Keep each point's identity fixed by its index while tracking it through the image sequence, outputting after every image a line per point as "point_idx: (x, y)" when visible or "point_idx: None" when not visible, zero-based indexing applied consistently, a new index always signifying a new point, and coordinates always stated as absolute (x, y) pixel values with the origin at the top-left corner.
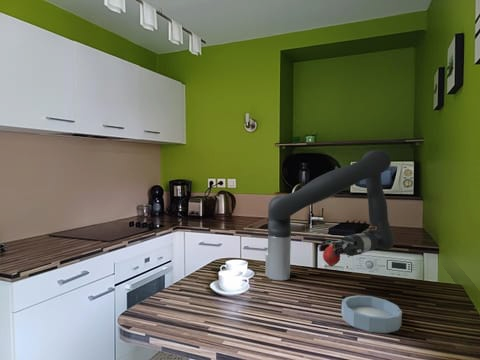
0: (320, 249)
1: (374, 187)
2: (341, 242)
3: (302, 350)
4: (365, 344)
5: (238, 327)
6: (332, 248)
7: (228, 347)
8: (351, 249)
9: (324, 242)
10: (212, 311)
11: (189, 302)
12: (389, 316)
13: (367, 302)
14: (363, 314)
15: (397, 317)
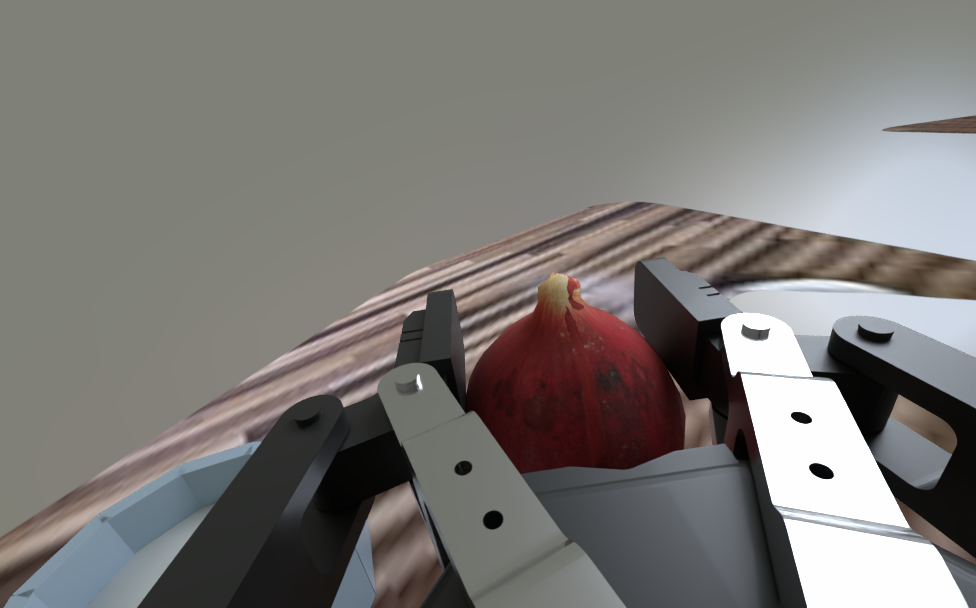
0: (637, 299)
1: None
2: (789, 605)
3: (346, 326)
4: (213, 436)
5: (503, 280)
6: (519, 320)
7: (449, 263)
8: (272, 449)
9: (836, 327)
10: (605, 264)
11: (676, 245)
12: (74, 548)
13: None
14: (213, 462)
15: (21, 592)
